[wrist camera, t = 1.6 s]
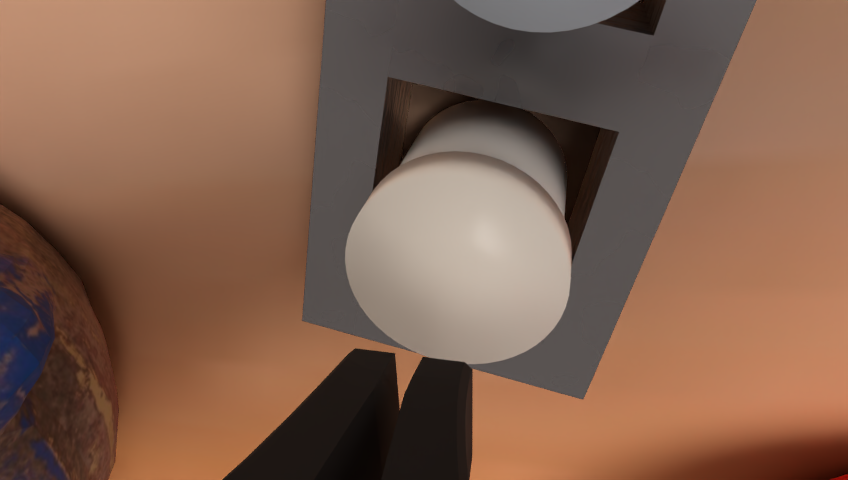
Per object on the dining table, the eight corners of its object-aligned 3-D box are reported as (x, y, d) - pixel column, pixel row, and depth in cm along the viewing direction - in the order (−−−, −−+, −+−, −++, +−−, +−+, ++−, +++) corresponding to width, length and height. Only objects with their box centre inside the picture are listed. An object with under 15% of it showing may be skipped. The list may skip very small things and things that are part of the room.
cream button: (599, 116, 15) (601, 209, 11) (548, 268, 17) (536, 387, 13) (415, 72, 15) (357, 147, 11) (390, 227, 18) (336, 331, 14)
